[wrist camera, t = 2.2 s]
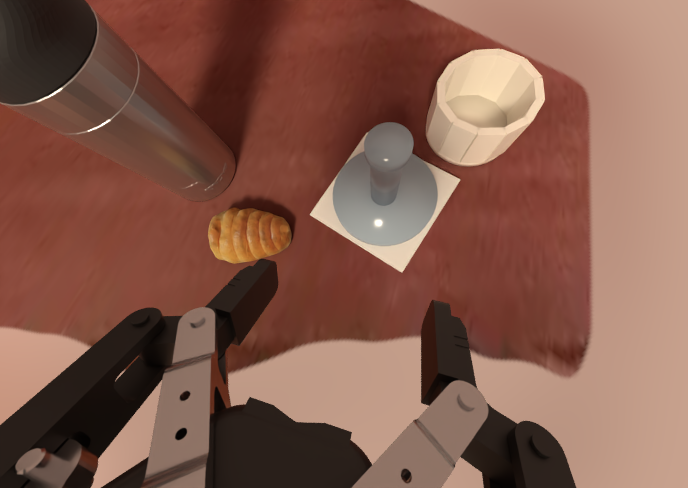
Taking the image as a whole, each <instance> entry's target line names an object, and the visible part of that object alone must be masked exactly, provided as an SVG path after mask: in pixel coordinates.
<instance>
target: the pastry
mask: <svg viewBox="0 0 688 488" xmlns="http://www.w3.org/2000/svg"><path fill="white" fill-rule="evenodd" d="M291 237H292V234H291V230H290V226H289V224H288V223H287V222H286V220H285V219H284V218H283V217H279V216H276V215H274V214H272V213H269V212H264V211H261V210H256V209H254V208H248V209H242V210H240V209H238V208H236V207H234V208H230V209H228V210H227V211H224V212H222V213H220V214H218V215H216V216H214V217H213V218H212V220H211V222H210V225H209V231H208V238H209V241H210V242H209V244H210V248H211V250H212V251H213V253H214V254H215V256H216V258H218V259H220V260H226V261H228V262H230V263H241V262H248V261H254V260H257V259H261V258H264V257H267V256H270V255H274V254H277V253H279V252H281V251H282V250H284V249H285V248H287V247H288V246H289V244H290V243H291Z"/></svg>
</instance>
